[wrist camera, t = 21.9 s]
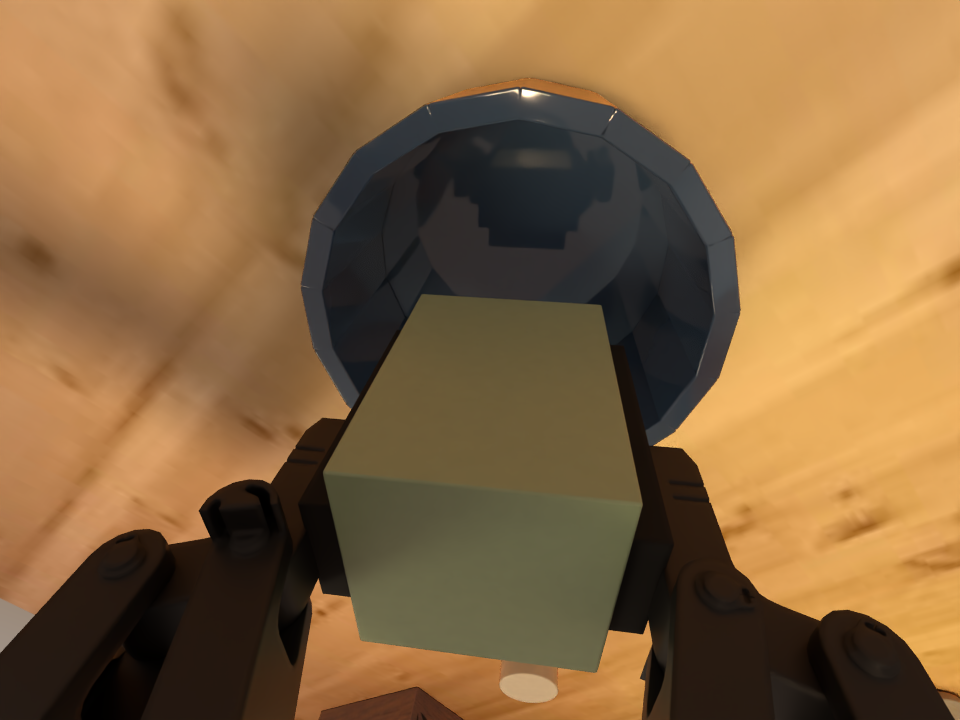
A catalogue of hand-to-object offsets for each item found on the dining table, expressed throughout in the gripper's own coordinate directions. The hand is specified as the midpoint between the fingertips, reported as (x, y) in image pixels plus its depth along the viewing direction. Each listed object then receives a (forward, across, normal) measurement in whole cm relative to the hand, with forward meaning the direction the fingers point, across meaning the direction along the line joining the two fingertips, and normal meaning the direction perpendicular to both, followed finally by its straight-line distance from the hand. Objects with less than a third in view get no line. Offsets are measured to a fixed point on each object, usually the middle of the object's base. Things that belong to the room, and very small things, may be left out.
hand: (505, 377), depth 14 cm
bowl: (+10, 0, 0) cm, 10 cm away
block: (0, 0, 0) cm, 0 cm away
